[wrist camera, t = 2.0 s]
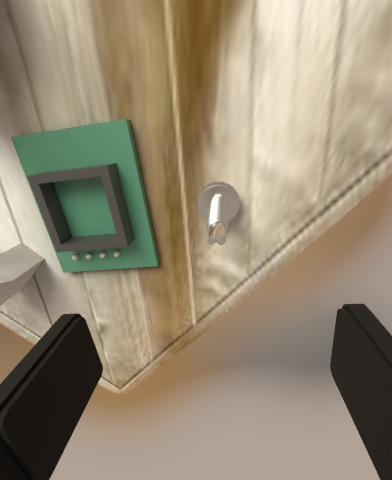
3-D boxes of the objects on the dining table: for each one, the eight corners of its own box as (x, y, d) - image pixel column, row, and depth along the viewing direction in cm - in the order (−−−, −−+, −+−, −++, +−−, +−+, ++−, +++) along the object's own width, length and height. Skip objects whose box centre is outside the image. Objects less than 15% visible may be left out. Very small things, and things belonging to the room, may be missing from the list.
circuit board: (129, 119, 27) (116, 117, 24) (159, 262, 34) (152, 276, 30) (18, 137, 29) (-8, 137, 26) (68, 268, 36) (52, 282, 32)
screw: (191, 198, 30) (220, 170, 28) (217, 225, 31) (247, 200, 29) (170, 240, 18) (219, 195, 16) (214, 281, 19) (264, 244, 17)
